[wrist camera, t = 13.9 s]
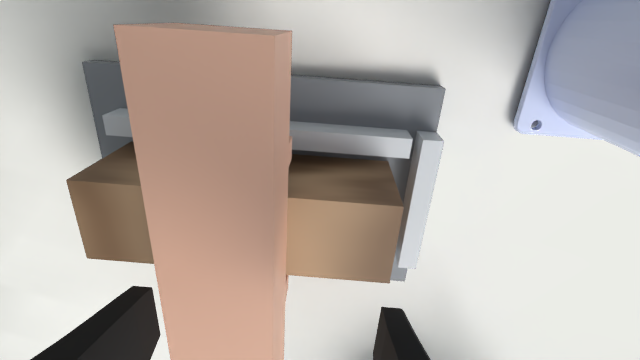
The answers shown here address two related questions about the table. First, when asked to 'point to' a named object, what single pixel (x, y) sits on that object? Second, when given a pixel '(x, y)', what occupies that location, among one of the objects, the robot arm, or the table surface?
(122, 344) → the robot arm
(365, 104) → the jig
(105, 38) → the table surface
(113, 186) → the tan cardboard box
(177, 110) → the block
